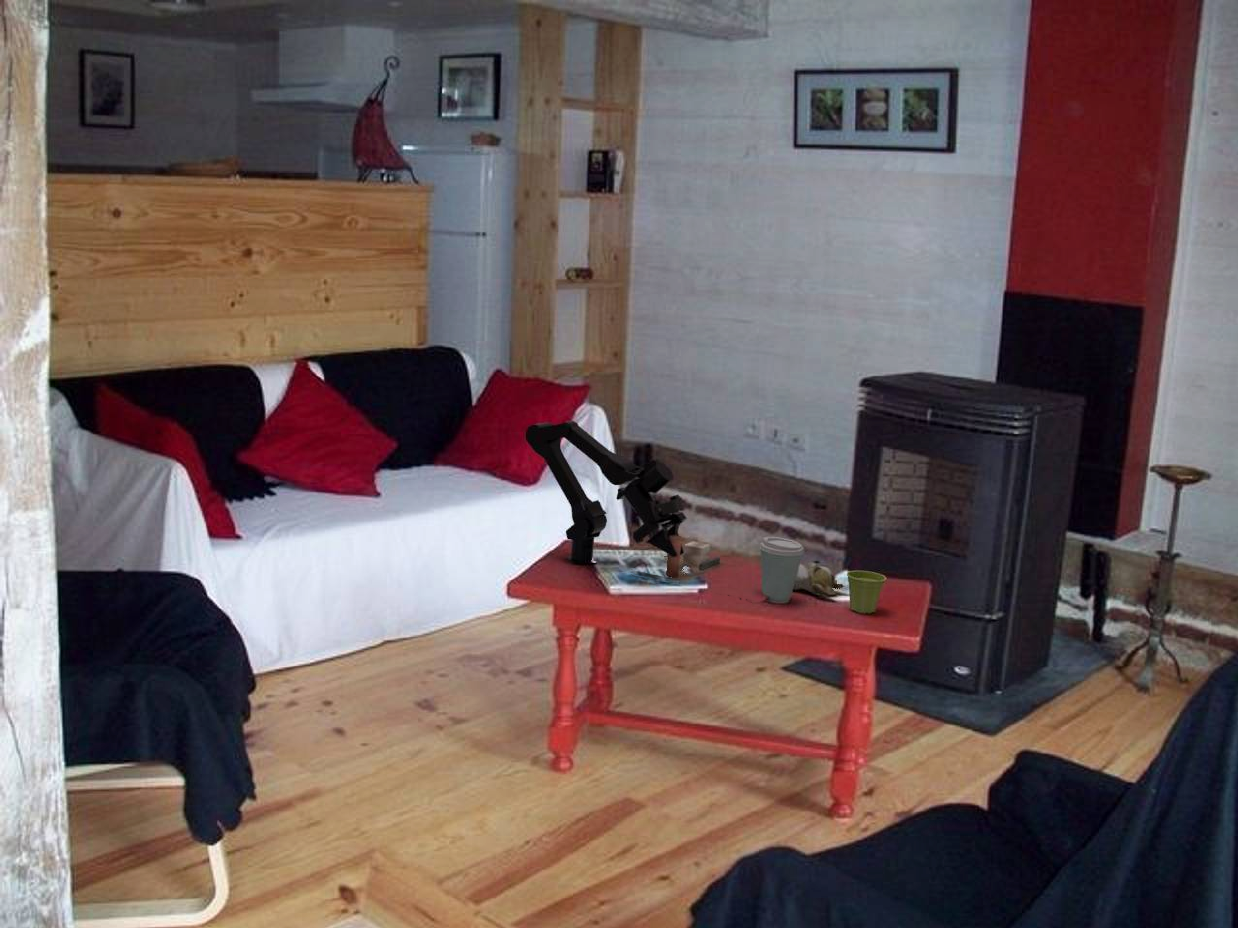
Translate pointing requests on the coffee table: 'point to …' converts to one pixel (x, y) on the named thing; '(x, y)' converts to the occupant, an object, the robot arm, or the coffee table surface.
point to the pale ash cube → (695, 553)
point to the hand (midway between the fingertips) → (679, 555)
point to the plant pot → (864, 590)
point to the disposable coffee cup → (779, 567)
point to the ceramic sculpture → (816, 579)
